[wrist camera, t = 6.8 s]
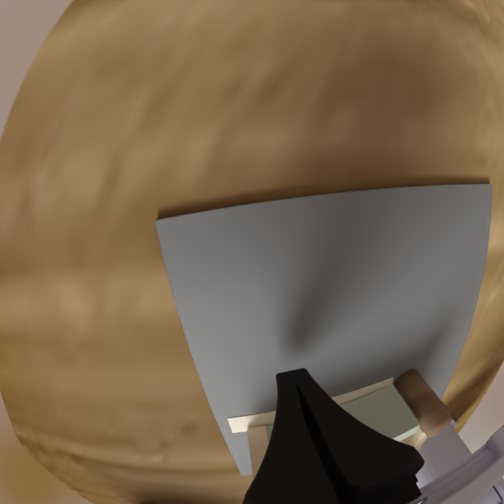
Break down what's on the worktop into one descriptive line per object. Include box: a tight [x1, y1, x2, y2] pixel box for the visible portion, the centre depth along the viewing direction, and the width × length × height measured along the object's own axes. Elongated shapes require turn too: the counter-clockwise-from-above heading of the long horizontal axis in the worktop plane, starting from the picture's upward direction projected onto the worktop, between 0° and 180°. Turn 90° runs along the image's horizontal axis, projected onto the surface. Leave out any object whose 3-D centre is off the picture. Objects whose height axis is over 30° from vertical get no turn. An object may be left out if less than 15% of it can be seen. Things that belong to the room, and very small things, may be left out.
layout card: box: [155, 183, 492, 476], centre depth 14 cm, size 22×19×1 cm
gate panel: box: [247, 384, 420, 480], centre depth 13 cm, size 10×1×4 cm, turn 103°
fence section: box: [394, 369, 453, 451], centre depth 14 cm, size 9×2×5 cm, turn 8°
